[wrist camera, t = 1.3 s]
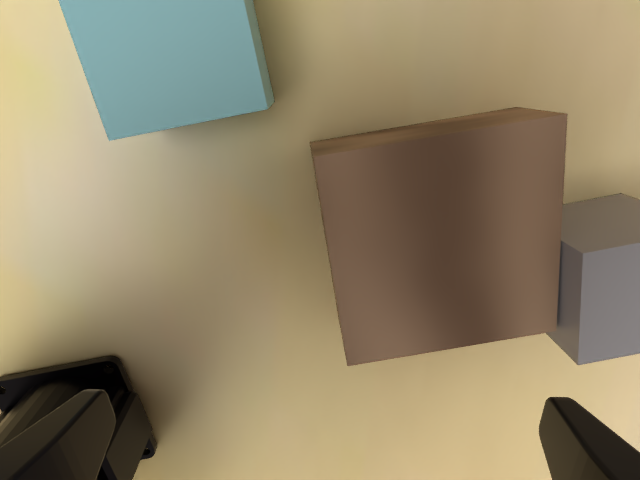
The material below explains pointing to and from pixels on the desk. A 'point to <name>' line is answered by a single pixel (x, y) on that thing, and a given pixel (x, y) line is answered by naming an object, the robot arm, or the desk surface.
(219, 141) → the desk surface
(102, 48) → the teal cube
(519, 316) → the walnut block
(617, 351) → the grey cube
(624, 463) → the robot arm
